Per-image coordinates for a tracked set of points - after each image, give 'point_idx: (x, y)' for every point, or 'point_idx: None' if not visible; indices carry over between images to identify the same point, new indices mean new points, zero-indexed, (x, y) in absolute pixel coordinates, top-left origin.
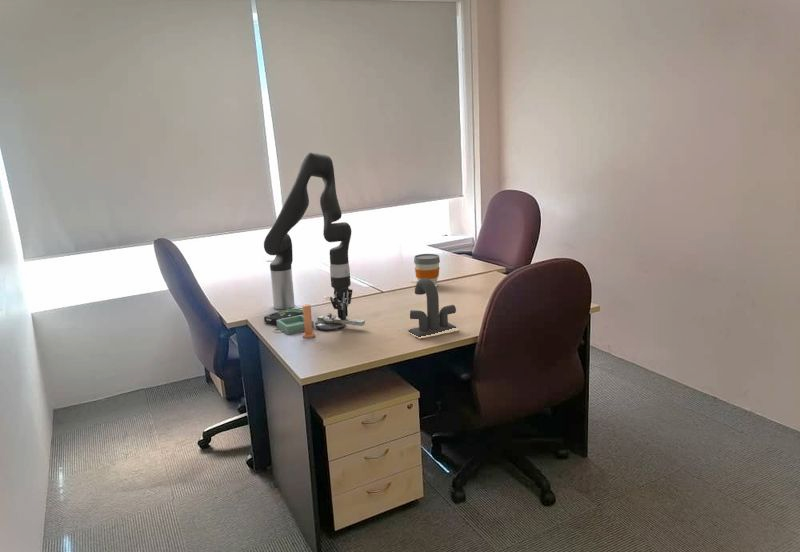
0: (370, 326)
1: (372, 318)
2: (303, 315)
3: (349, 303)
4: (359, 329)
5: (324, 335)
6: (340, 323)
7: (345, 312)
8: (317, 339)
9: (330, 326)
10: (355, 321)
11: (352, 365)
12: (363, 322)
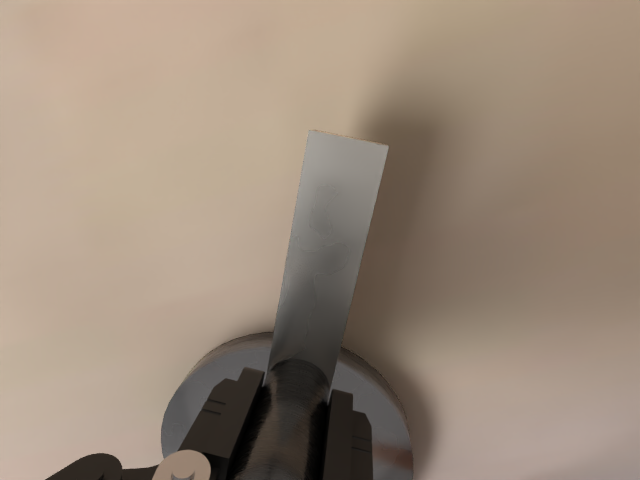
0: (240, 97)
1: (20, 149)
2: None
3: (109, 469)
4: None
5: (516, 429)
6: None
7: (283, 416)
8: (615, 456)
9: (387, 439)
10: (366, 237)
11: None
12: (349, 137)
